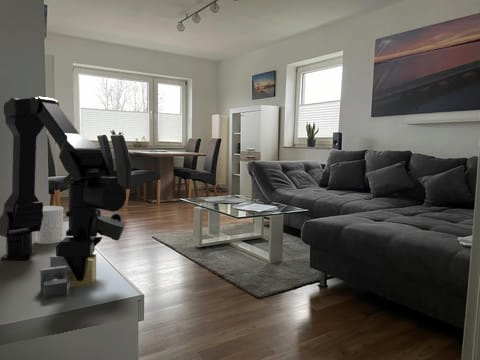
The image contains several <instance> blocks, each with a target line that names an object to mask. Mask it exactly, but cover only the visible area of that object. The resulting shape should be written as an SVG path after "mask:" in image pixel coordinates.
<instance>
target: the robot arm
mask: <svg viewBox="0 0 480 360" xmlns="http://www.w3.org/2000/svg"><path fill="white" fill-rule="evenodd" d="M3 114H4V118H5V125H6V127H7V128H8V129H9V130H10V132H11V134H12V136H13V139H12V141H13V142H12V180H11V182H12V184H11V186H12V187H11V188H12V190H11V194H10V196H9V197H8V199H6V201H5V203H3V210H2V211H3V213H2V214H1V216H0V236H2V237H4V238H5V251H6V252H5V254H3V255H2V256H1V257H0V261H1V260H6V261H7V260H10V261H11V260H30V259H31V258H32V257H33V256H34V255H35V254H36V253H37V252H38V250H37V249H33V233H35V231H40V229H41V225H42V220H43V206H44V203H43V201H40V200H39V198H38V197H37V196H36V194H35V193H36V165H37V164H36V163H37V161H36V159H37V138H38V135H40V133H41V131H42V130H43V129H44V128H45V129H46V130H47V131H48V133H49V134H50V136H51V137H52V139H53V140H54V141H55V143H56V144H57V147H58V149H59V150H60V151H59V154H58V158H59V160H60V162H61V165H62V167H63V169H64V170H65V171H66V173H68V175H66V176H65V177H64V178H63V183H68V209H67V210H66V211H65V217H66V218H68V229H67V230H65V231H66V232H65V237H64V238H63V239H62V240H61V241H60V242H58V244H57V245H56V246H55V256H58V257H64V258H65V260H66V262H67V263H68V265H69V267H70V268H71V270H72V272H73V274H74V276H75V277H76V279H77V281H83V279H84V274H85V268H86V263H87V258H88V257H89V256H90V255H92V254H94V252H95V250H96V249H95V247H96V246H97V245H98V244H99V243H101V241H102V239H103V237H102V236H104V237H107V238H110V239H111V240H113V241H119V240H120V239H121V236H122V234H123V231H124V229H125V227H126V222H125V221H123V218H122V215H121V214H120V213H117V212H118V211H120V210H121V209H122V208H123V207H124V205H125V203H126V200H127V193H126V189H125V188H124V186H122V184H120V183H119V178H118V176H117V177H116V176H113V173H112V170H111V168H110V166H109V165H108V163H107V161H106V158H105V155H104V153H103V151H102V150H101V148H100V147H99V146H98V145H97V144H96V143H94V142H93V141H92V140H90V139H87V138H86V137H84V136H82V135H81V134H80V133H79V132H78V130H77V129H76V128H75V126H74V125H73V124H72V122H71V121H70V119H69V118H68V117H67V115H66V114H65V113H64V112H63V110H62V108H61V107H60V103H59V102H58V100H56V99H54V98H50V97H46V96H45V97H43V96H33V97H30V98H17V97H11V98H10V99H8V101H6V102H5V103H4V104H3ZM102 211H108V212H110V213H111V212H112V213H113V212H114V213H113V214H112V215H111V216H109V215H103V214H102ZM98 234H99V235H100V236H98Z"/></svg>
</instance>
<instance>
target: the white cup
mask: <svg viewBox="0 0 480 360" xmlns="http://www.w3.org/2000/svg"><path fill="white" fill-rule="evenodd" d="M64 210H65V209H64V207H63V206H60V205H59V206H58V205H43V220H42V225H41V229H40V231H35V232H34V234H35V242H36V244H39V245H53V244H57V243H58V244H59V243H60V242H61V241H62V240H63V239H62V238H63V225H64Z"/></svg>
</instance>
